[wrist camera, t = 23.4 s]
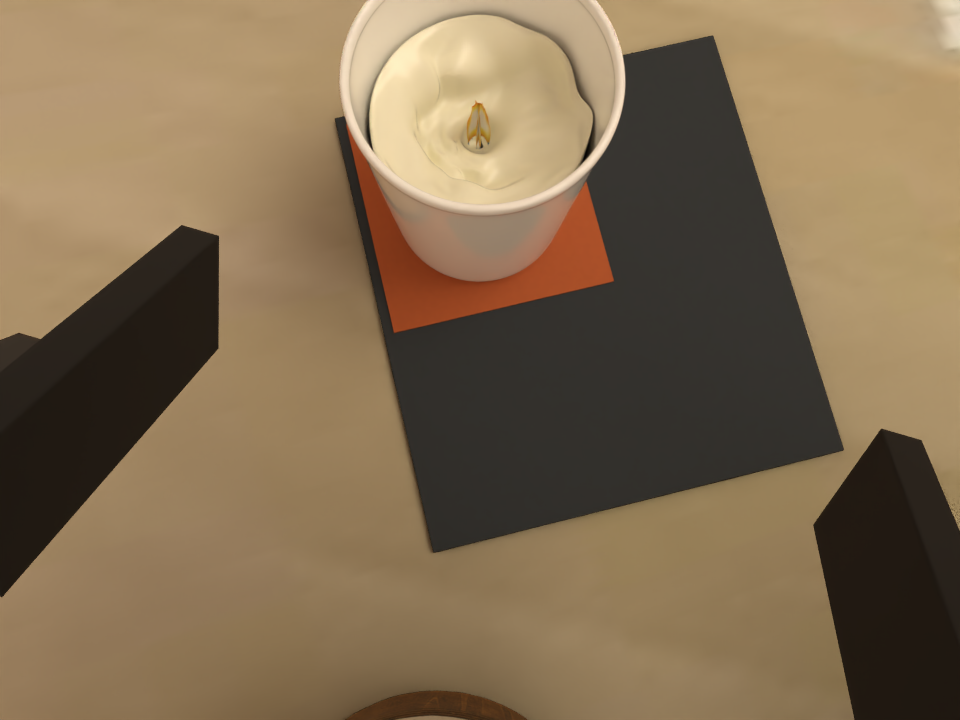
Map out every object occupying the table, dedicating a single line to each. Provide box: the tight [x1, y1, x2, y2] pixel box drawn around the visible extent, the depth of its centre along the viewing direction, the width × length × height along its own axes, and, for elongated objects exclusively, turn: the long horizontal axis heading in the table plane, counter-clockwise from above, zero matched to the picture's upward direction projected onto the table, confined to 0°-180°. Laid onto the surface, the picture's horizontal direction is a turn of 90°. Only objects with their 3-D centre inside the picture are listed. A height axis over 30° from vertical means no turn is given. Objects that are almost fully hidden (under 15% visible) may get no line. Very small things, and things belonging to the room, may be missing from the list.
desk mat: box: [335, 36, 844, 553], centre depth 38 cm, size 20×22×1 cm
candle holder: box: [339, 0, 625, 282], centre depth 32 cm, size 10×10×12 cm
